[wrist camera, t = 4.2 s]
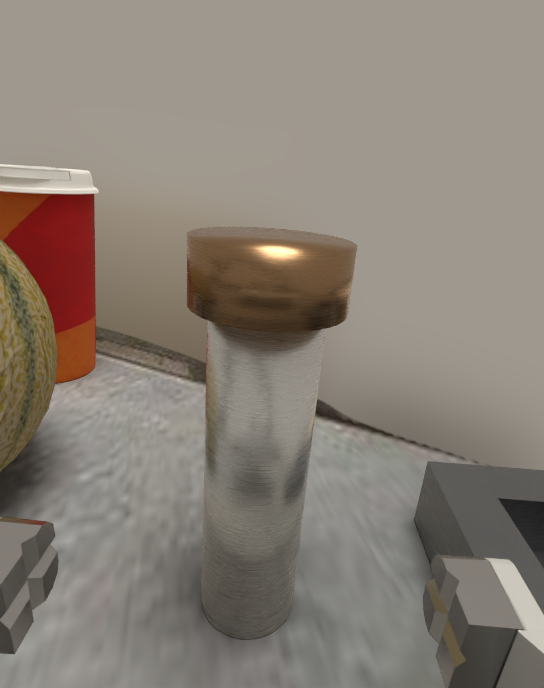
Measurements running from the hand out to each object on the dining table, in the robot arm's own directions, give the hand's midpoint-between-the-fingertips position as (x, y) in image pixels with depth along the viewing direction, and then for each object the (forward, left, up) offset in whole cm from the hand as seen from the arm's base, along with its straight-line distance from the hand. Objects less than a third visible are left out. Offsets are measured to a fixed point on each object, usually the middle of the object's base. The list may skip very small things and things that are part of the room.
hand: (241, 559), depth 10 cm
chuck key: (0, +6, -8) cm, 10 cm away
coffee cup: (-17, +25, -8) cm, 31 cm away
